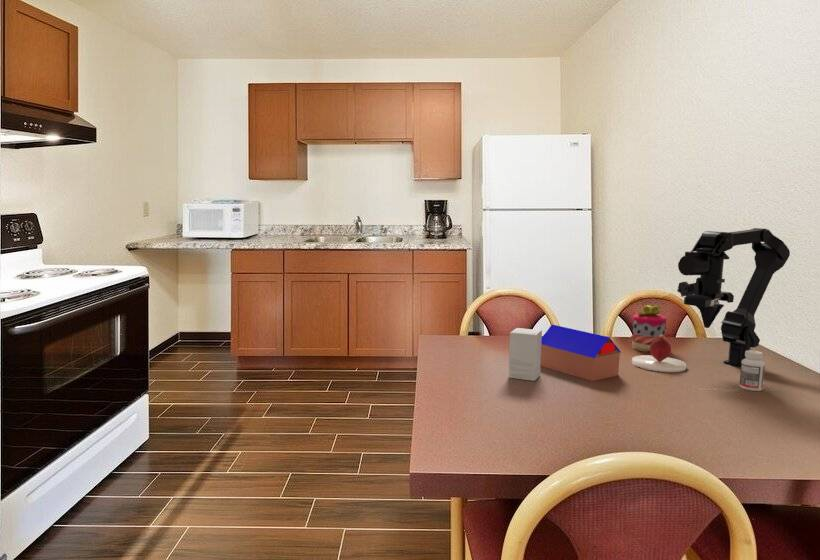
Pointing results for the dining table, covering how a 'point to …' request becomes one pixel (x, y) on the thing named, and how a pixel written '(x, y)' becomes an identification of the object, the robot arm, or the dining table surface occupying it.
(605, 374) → the house
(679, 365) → the plate
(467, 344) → the dining table surface
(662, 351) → the onion
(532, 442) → the dining table surface
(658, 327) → the cake
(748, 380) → the pill bottle
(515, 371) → the supplement box
